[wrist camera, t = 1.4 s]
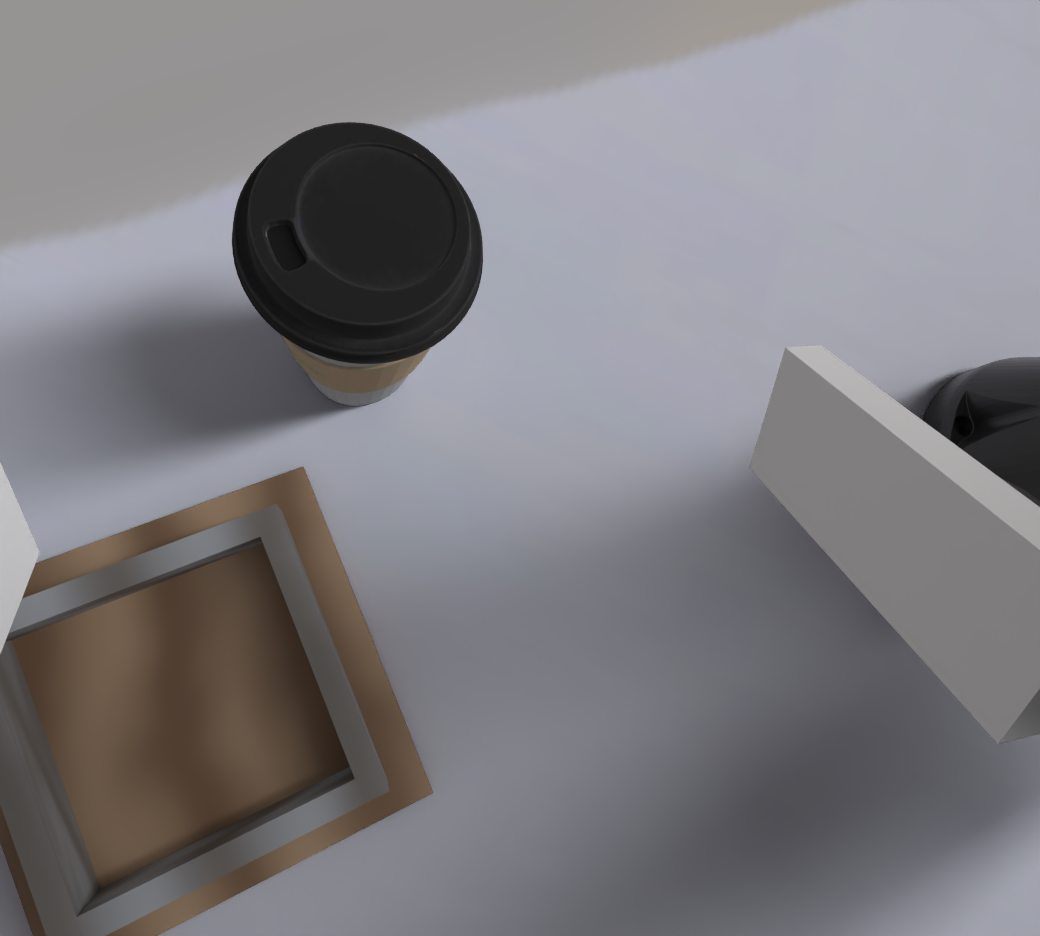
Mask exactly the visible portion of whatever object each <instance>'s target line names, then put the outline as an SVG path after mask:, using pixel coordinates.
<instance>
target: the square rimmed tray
mask: <svg viewBox="0 0 1040 936" xmlns="http://www.w3.org/2000/svg"><path fill="white" fill-rule="evenodd" d="M432 793H433V791H432V788H431V786H430V783H429V781H428V778H427V776H426V773H425V771H424V768H423V766H422V763H421V761H420V758H419V756H418V753H417V751H416V748H415V746H414V743H413V741H412V738H411V736H410V733H409V731H408V728H407V726H406V723H405V721H404V718H403V716H402V713H401V711H400V708H399V705H398V703H397V700H396V698H395V695H394V693H393V690H392V688H391V685H390V683H389V680H388V678H387V675H386V673H385V670H384V668H383V665H382V663H381V660H380V658H379V655H378V653H377V650H376V648H375V645H374V643H373V640H372V638H371V635H370V633H369V630H368V628H367V625H366V623H365V620H364V618H363V615H362V613H361V610H360V608H359V605H358V603H357V600H356V597H355V595H354V592H353V590H352V587H351V585H350V582H349V580H348V577H347V575H346V572H345V570H344V567H343V565H342V562H341V560H340V557H339V555H338V552H337V550H336V547H335V545H334V542H333V540H332V537H331V535H330V532H329V530H328V527H327V525H326V522H325V520H324V517H323V515H322V512H321V510H320V507H319V505H318V502H317V500H316V497H315V494H314V492H313V489H312V487H311V484H310V482H309V479H308V477H307V474H306V472H305V469H304V467H300V468H298V469H295V470H292V471H289V472H287V473H284V474H281V475H278V476H276V477H273V478H270V479H267V480H265V481H262V482H259V483H256V484H254V485H251V486H248V487H245V488H243V489H240V490H237V491H234V492H232V493H229V494H226V495H223V496H221V497H218V498H215V499H212V500H210V501H207V502H204V503H201V504H198V505H196V506H193V507H190V508H187V509H185V510H182V511H179V512H176V513H174V514H171V515H168V516H165V517H163V518H160V519H157V520H154V521H152V522H149V523H146V524H143V525H141V526H138V527H135V528H132V529H130V530H127V531H124V532H121V533H119V534H116V535H113V536H110V537H108V538H105V539H102V540H99V541H97V542H94V543H91V544H88V545H86V546H83V547H80V548H77V549H75V550H72V551H69V552H66V553H64V554H61V555H58V556H55V557H53V558H50V559H47V560H44V561H42V562H39V563H36V564H35V566H34V569H33V571H32V574H31V576H30V579H29V581H28V584H27V587H26V589H25V592H24V594H23V597H22V600H21V602H20V605H19V607H18V610H17V612H16V615H15V618H14V620H13V623H12V625H11V628H10V631H9V633H8V636H7V638H6V641H5V643H4V646H3V649H2V651H1V654H0V842H1V845H2V848H3V851H4V854H5V856H6V859H7V862H8V865H9V868H10V871H11V874H12V876H13V879H14V882H15V885H16V888H17V891H18V894H19V896H20V899H21V902H22V905H23V908H24V911H25V914H26V916H27V919H28V922H29V925H30V928H31V931H32V934H33V936H157V935H159V934H161V933H163V932H165V931H167V930H169V929H171V928H173V927H175V926H177V925H179V924H181V923H183V922H185V921H186V920H188V919H190V918H192V917H194V916H196V915H198V914H200V913H202V912H204V911H206V910H208V909H210V908H212V907H214V906H215V905H217V904H219V903H221V902H223V901H225V900H227V899H229V898H231V897H233V896H235V895H237V894H239V893H241V892H242V891H244V890H246V889H248V888H250V887H252V886H254V885H256V884H258V883H260V882H262V881H264V880H266V879H268V878H270V877H271V876H273V875H275V874H277V873H279V872H281V871H283V870H285V869H287V868H289V867H291V866H293V865H295V864H297V863H299V862H300V861H302V860H304V859H306V858H308V857H310V856H312V855H314V854H316V853H318V852H320V851H322V850H324V849H326V848H328V847H329V846H331V845H333V844H335V843H337V842H339V841H341V840H343V839H345V838H347V837H349V836H351V835H353V834H355V833H356V832H358V831H360V830H362V829H364V828H366V827H368V826H370V825H372V824H374V823H376V822H378V821H380V820H382V819H384V818H385V817H387V816H389V815H391V814H393V813H395V812H397V811H399V810H401V809H403V808H405V807H407V806H409V805H411V804H413V803H414V802H416V801H418V800H420V799H422V798H424V797H426V796H428V795H430V794H432Z"/></svg>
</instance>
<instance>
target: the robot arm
mask: <svg viewBox="0 0 1040 936" xmlns="http://www.w3.org/2000/svg"><path fill="white" fill-rule="evenodd" d="M749 468H750V469H751V470H752V471H753V472H754V474H755V475H756V476H757V477H758V478H759V479H760V480H761V481H762V482H763V484H764V485H765V486H766V487H767V488H768V489H769V490H770V491H771V492H772V494H773V495H774V496H775V497H776V498H777V499H778V500H779V501H780V502H781V504H782V505H783V506H784V507H785V508H786V509H787V510H788V511H789V512H790V514H791V515H792V516H793V517H794V518H795V519H796V520H797V521H798V522H799V524H800V525H801V526H802V527H803V528H804V529H805V530H806V531H807V532H808V534H809V535H810V536H811V537H812V538H813V539H814V540H815V541H816V542H817V544H818V545H819V546H820V547H821V548H822V549H823V550H824V551H825V552H826V554H827V555H828V556H829V557H830V558H831V559H832V560H833V561H834V562H835V564H836V565H837V566H838V567H839V568H840V569H841V570H842V571H843V572H844V574H845V575H846V576H847V577H848V578H849V579H850V580H851V581H852V582H853V584H854V585H855V586H856V587H857V588H858V589H859V590H860V591H861V592H862V594H863V595H864V596H865V597H866V598H867V599H868V600H869V601H870V602H871V604H872V605H873V606H874V607H875V608H876V609H877V610H878V611H879V612H880V614H881V615H882V616H883V617H884V618H885V619H886V620H887V621H888V622H889V624H890V625H891V626H892V627H893V628H894V629H895V630H896V631H897V632H898V634H899V635H900V636H901V637H902V638H903V639H904V640H905V641H906V642H907V644H908V645H909V646H910V647H911V648H912V649H913V650H914V651H915V652H916V654H917V655H918V656H919V657H920V658H921V659H922V660H923V661H924V662H925V664H926V665H927V666H928V667H929V668H930V669H931V670H932V671H933V672H934V674H935V675H936V676H937V677H938V678H939V679H940V680H941V681H942V682H943V684H944V685H945V686H946V687H947V688H948V689H949V690H950V691H951V692H952V694H953V695H954V696H955V697H956V698H957V699H958V700H959V701H960V702H961V704H962V705H963V706H964V707H965V708H966V709H967V710H968V711H969V712H970V714H971V715H972V716H973V717H974V718H975V719H976V720H977V721H978V722H979V724H980V725H981V726H982V727H983V728H984V729H985V730H986V731H987V732H988V734H989V735H990V736H991V737H992V738H993V739H994V740H995V741H996V742H997V744H1000V743H1004V742H1008V741H1012V740H1016V739H1020V738H1024V737H1028V736H1032V735H1036V734H1040V357H1018V358H1009V359H1003V360H998V361H995V362H991V363H989V364H986V365H983V366H980V367H978V368H975V369H972V370H969V371H967V372H964V373H962V374H960V375H958V376H957V377H955V378H953V379H952V380H951V381H949V382H948V383H947V384H946V385H945V386H944V387H943V388H942V389H941V390H940V391H939V392H938V393H937V395H936V396H935V397H934V399H933V400H932V402H931V404H930V405H929V407H928V409H927V411H926V414H925V416H924V419H923V420H921V419H920V418H919V417H917V416H916V415H915V414H913V413H912V412H910V411H909V410H908V409H906V408H905V407H904V406H902V405H901V404H900V403H898V402H897V401H896V400H894V399H893V398H892V397H890V396H889V395H887V394H886V393H885V392H883V391H882V390H881V389H879V388H878V387H877V386H875V385H874V384H873V383H871V382H870V381H869V380H867V379H866V378H865V377H863V376H862V375H860V374H859V373H858V372H856V371H855V370H854V369H852V368H851V367H850V366H848V365H847V364H846V363H844V362H843V361H842V360H840V359H839V358H837V357H836V356H835V355H833V354H832V353H831V352H829V351H828V350H827V349H825V348H824V347H823V346H821V345H815V346H801V347H787V348H785V351H784V354H783V358H782V361H781V364H780V368H779V371H778V374H777V378H776V381H775V384H774V388H773V391H772V394H771V398H770V401H769V404H768V408H767V411H766V414H765V418H764V421H763V424H762V428H761V431H760V434H759V437H758V441H757V444H756V447H755V451H754V454H753V457H752V461H751V464H750V467H749ZM39 553H40V552H39V550H38V548H37V545H36V543H35V541H34V539H33V536H32V534H31V532H30V529H29V527H28V525H27V522H26V520H25V518H24V516H23V513H22V511H21V509H20V506H19V504H18V502H17V500H16V497H15V495H14V493H13V490H12V488H11V486H10V483H9V481H8V479H7V477H6V474H5V472H4V470H3V467H2V465H1V463H0V654H1V651H2V649H3V646H4V643H5V641H6V638H7V636H8V633H9V631H10V628H11V625H12V623H13V620H14V618H15V615H16V612H17V610H18V607H19V605H20V602H21V600H22V597H23V594H24V592H25V589H26V587H27V584H28V581H29V579H30V576H31V574H32V571H33V569H34V566H35V563H36V561H37V558H38V556H39Z"/></svg>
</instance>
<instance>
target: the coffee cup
mask: <svg viewBox="0 0 1040 936" xmlns="http://www.w3.org/2000/svg"><path fill="white" fill-rule="evenodd" d="M232 247H233V257H234V263H235V267H236V270H237V274H238V277H239V279H240V282H241V285H242V287H243V289H244V291H245V293H246V295H247V296H248V298H249V300H250V301H251V303H252V305H253V306H254V307H255V309H256V310H257V311H258V313H259V314H260V315H261V316H262V317H263V318H264V319H265V321H266V322H267V323H268V324H269V325H271V326H272V327H273V328H274V329H275V330H276V331H277V332H278V333H280V334H281V336H282V337H283V339H284V341H285V343H286V344H287V346H288V348H289V349H290V351H291V353H292V354H293V356H294V358H295V359H296V361H297V362H298V364H299V365H300V366H301V367H302V368H303V369H304V371H305V372H306V373H307V374H308V376H309V377H310V379H311V381H312V382H313V384H314V385H315V386H316V387H317V388H318V389H319V391H320V392H321V393H323V394H324V395H325V396H327V397H328V398H329V399H331V400H333V401H335V402H337V403H340V404H345V405H351V406H360V405H367V404H371V403H374V402H377V401H380V400H382V399H384V398H386V397H387V396H389V395H390V394H392V393H393V392H394V391H396V390H397V389H398V388H399V387H400V385H401V384H402V383H403V382H404V380H405V379H406V378H407V376H408V375H409V374H410V373H411V372H412V371H413V370H414V369H415V368H416V367H417V366H418V365H419V363H420V362H421V361H422V360H423V358H424V357H425V355H426V354H427V352H428V351H429V349H430V348H431V347H432V346H434V345H435V344H437V343H438V342H440V341H441V340H442V339H444V338H445V337H446V336H447V335H448V334H449V333H451V332H452V331H453V330H454V329H455V328H456V326H457V325H458V324H459V323H460V322H461V320H462V319H463V318H464V317H465V315H466V314H467V312H468V310H469V309H470V307H471V305H472V303H473V301H474V299H475V296H476V294H477V291H478V288H479V284H480V280H481V274H482V265H483V247H482V235H481V229H480V225H479V221H478V218H477V214H476V212H475V209H474V207H473V204H472V202H471V200H470V198H469V197H468V195H467V193H466V191H465V190H464V188H463V187H462V185H461V184H460V183H459V181H458V180H457V179H456V177H455V176H454V175H453V174H452V173H451V172H450V170H449V169H448V168H447V167H446V166H445V165H444V164H443V163H442V162H441V161H440V160H439V159H438V158H437V157H436V156H435V155H434V154H433V153H431V152H430V151H429V150H428V149H426V148H425V147H424V146H422V145H421V144H419V143H418V142H416V141H415V140H413V139H411V138H409V137H407V136H405V135H403V134H401V133H399V132H396V131H394V130H391V129H388V128H385V127H381V126H377V125H372V124H365V123H354V122H353V123H351V122H348V123H334V124H328V125H323V126H320V127H315V128H313V129H310V130H307V131H305V132H303V133H301V134H298V135H297V136H295V137H293V138H292V139H290V140H288V141H287V142H286V143H284V144H283V145H281V146H280V147H279V148H277V149H275V150H274V151H273V152H271V153H270V154H269V155H268V156H267V157H266V158H265V159H263V161H262V162H261V163H260V164H259V165H258V166H257V167H256V168H255V170H254V171H253V172H252V174H251V175H250V177H249V178H248V180H247V181H246V183H245V185H244V187H243V189H242V191H241V193H240V196H239V199H238V202H237V206H236V210H235V215H234V222H233V232H232Z"/></svg>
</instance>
